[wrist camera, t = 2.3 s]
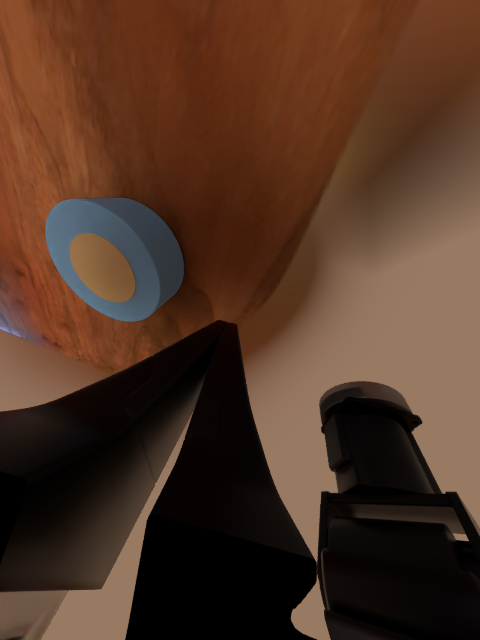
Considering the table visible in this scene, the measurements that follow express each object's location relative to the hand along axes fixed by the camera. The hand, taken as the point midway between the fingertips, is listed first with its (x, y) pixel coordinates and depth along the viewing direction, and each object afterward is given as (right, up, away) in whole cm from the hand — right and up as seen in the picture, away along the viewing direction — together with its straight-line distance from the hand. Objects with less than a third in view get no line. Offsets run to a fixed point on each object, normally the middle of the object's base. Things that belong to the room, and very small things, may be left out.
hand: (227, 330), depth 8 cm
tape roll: (-7, +5, +5) cm, 10 cm away
